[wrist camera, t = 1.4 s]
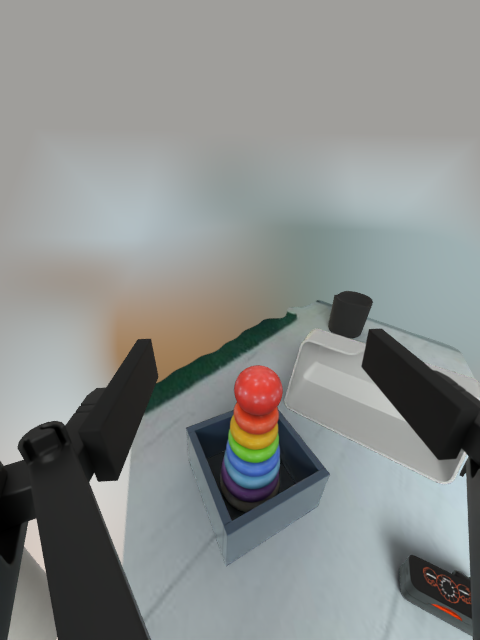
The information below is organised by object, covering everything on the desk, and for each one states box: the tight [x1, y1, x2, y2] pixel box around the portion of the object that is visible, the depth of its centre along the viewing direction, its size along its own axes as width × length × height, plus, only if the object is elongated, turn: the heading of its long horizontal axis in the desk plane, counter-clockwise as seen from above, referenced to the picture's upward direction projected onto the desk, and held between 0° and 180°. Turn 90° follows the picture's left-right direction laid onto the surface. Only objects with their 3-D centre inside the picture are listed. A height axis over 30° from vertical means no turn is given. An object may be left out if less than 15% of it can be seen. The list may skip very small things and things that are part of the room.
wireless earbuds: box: [399, 555, 473, 636], centre depth 25 cm, size 5×7×3 cm, turn 65°
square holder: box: [186, 410, 330, 566], centre depth 32 cm, size 13×13×7 cm
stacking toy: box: [220, 365, 283, 512], centre depth 30 cm, size 8×8×19 cm
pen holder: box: [329, 291, 373, 338], centre depth 69 cm, size 9×9×10 cm
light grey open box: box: [284, 329, 480, 484], centre depth 43 cm, size 25×16×12 cm, turn 57°
